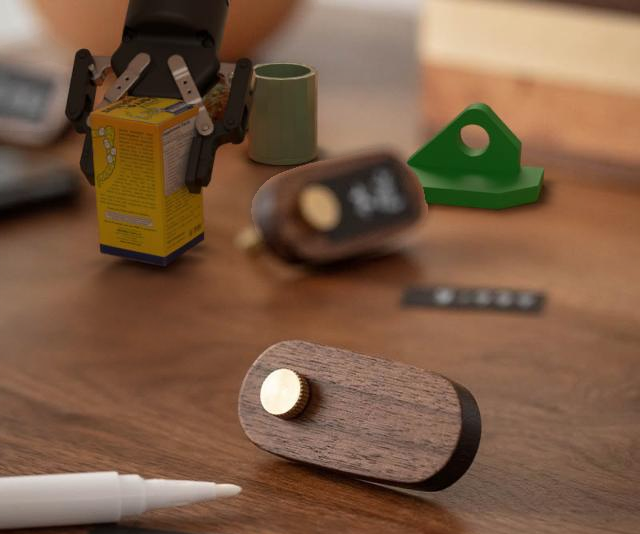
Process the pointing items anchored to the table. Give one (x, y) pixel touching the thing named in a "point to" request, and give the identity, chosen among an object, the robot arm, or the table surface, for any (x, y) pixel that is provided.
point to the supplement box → (145, 179)
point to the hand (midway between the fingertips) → (142, 185)
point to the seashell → (216, 102)
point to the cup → (284, 114)
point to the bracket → (476, 165)
